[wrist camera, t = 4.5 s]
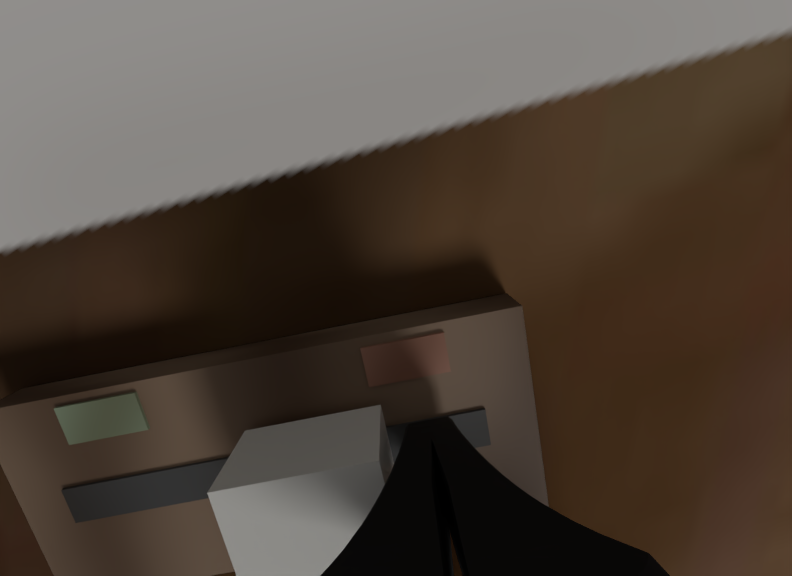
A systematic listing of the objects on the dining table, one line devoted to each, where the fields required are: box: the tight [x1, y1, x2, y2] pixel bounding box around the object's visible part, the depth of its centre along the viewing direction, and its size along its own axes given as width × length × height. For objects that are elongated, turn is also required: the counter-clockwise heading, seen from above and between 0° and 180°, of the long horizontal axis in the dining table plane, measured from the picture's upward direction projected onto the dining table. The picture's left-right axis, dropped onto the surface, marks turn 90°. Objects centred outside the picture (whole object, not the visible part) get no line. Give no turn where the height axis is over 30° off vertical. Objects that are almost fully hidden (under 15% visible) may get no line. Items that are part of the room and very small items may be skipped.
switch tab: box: [207, 405, 394, 576], centre depth 11 cm, size 4×3×2 cm
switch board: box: [0, 293, 549, 576], centre depth 13 cm, size 16×7×2 cm, turn 101°
